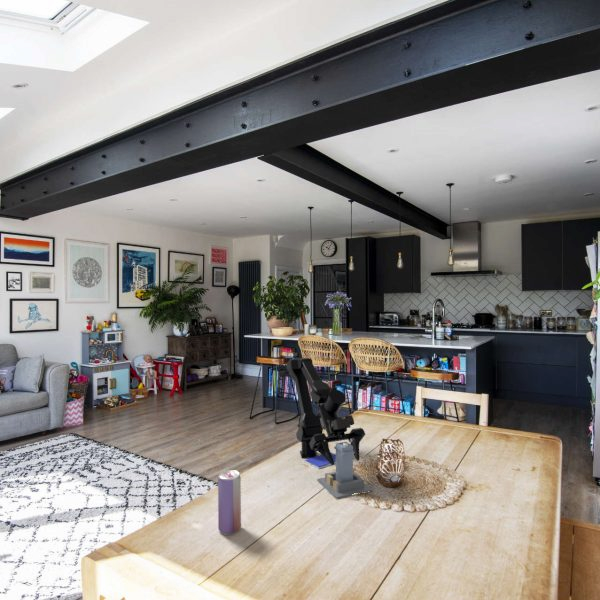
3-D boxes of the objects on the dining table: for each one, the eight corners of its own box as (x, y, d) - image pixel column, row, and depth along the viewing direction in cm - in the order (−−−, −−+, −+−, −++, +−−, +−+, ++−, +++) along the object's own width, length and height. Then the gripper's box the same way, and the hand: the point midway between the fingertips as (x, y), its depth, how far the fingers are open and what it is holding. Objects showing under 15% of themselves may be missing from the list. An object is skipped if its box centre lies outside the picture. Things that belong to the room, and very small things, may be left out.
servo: (334, 481, 145) (334, 439, 144) (345, 479, 146) (344, 438, 146) (343, 489, 138) (343, 446, 138) (354, 487, 140) (354, 444, 140)
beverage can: (222, 538, 112) (221, 481, 112) (215, 527, 118) (215, 472, 117) (244, 532, 115) (243, 476, 115) (236, 521, 121) (236, 468, 120)
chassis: (317, 480, 146) (317, 471, 146) (351, 474, 151) (351, 465, 151) (336, 499, 133) (336, 489, 133) (372, 491, 138) (372, 482, 138)
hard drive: (328, 451, 170) (304, 459, 162) (343, 457, 164) (318, 466, 156) (328, 455, 170) (304, 463, 162) (343, 461, 164) (318, 470, 156)
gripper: (312, 410, 142) (327, 455, 132) (362, 404, 149) (380, 447, 139) (303, 427, 149) (317, 471, 140) (351, 420, 157) (367, 462, 147)
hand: (346, 462), depth 141 cm, fingers open, 9 cm apart
